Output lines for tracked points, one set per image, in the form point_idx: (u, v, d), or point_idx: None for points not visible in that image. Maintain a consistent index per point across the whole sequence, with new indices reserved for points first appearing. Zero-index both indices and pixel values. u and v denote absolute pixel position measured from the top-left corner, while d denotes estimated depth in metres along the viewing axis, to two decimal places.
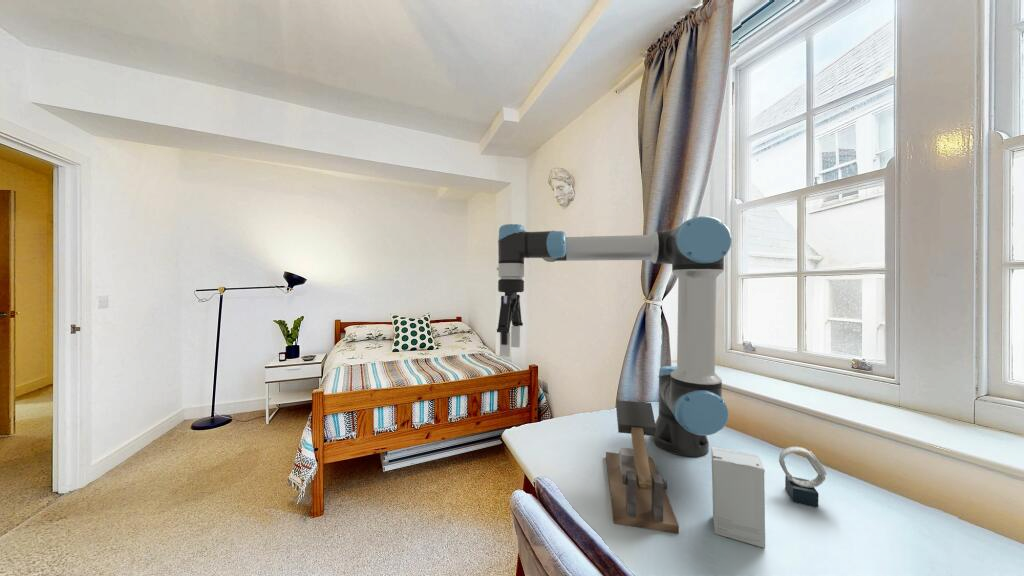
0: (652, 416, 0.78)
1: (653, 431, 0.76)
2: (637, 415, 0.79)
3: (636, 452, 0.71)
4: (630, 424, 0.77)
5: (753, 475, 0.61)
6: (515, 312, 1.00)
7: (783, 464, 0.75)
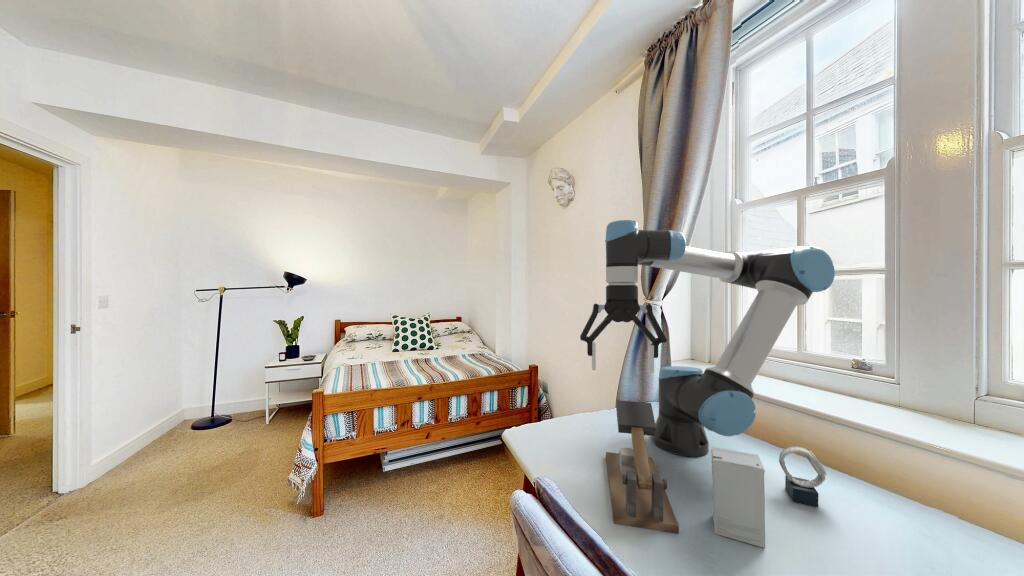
0: (652, 416, 0.78)
1: (653, 431, 0.76)
2: (637, 415, 0.79)
3: (636, 452, 0.71)
4: (630, 424, 0.77)
5: (753, 475, 0.61)
6: (637, 325, 0.81)
7: (783, 464, 0.75)
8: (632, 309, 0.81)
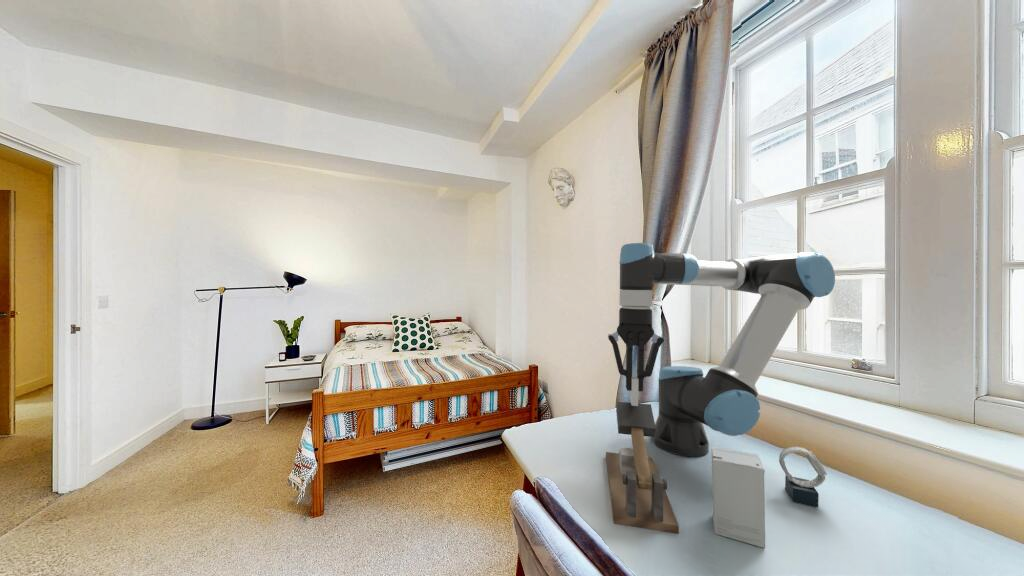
0: (652, 417, 0.78)
1: (653, 432, 0.76)
2: (637, 416, 0.79)
3: (636, 452, 0.71)
4: (630, 425, 0.77)
5: (753, 475, 0.61)
6: (638, 352, 0.80)
7: (783, 464, 0.75)
8: (645, 331, 0.79)
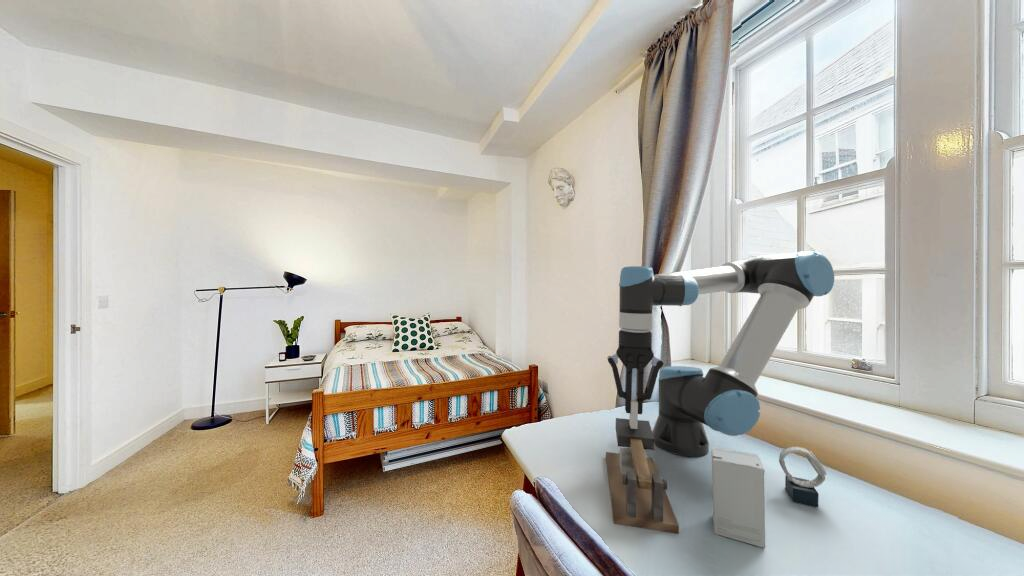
0: (650, 430, 0.80)
1: (652, 444, 0.78)
2: (635, 429, 0.81)
3: (635, 457, 0.72)
4: (629, 435, 0.79)
5: (753, 475, 0.61)
6: (637, 375, 0.80)
7: (783, 464, 0.75)
8: (645, 354, 0.79)
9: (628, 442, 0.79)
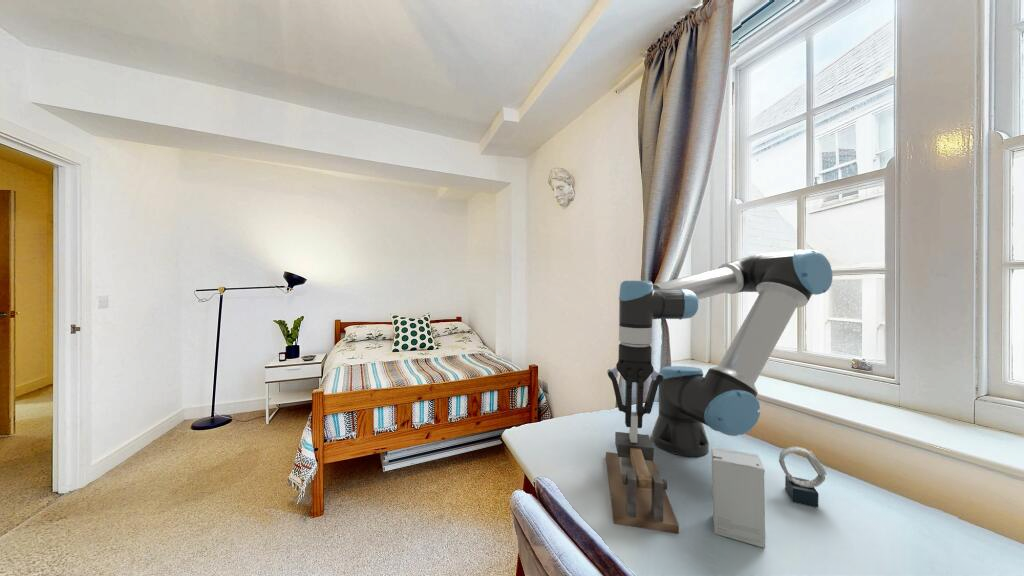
0: (649, 442, 0.81)
1: (651, 453, 0.78)
2: None
3: (635, 461, 0.73)
4: (628, 445, 0.79)
5: (753, 475, 0.61)
6: (637, 388, 0.80)
7: (783, 464, 0.75)
8: (645, 368, 0.79)
9: (628, 452, 0.79)
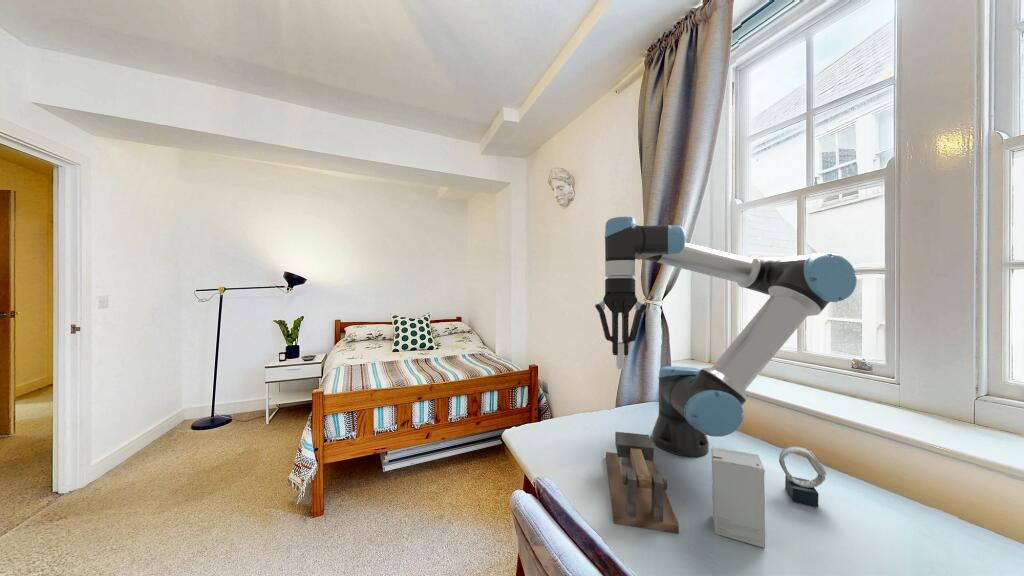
0: (649, 442, 0.81)
1: (651, 453, 0.78)
2: (635, 440, 0.81)
3: (635, 461, 0.73)
4: (628, 445, 0.79)
5: (753, 475, 0.61)
6: (623, 319, 0.86)
7: (783, 464, 0.75)
8: (629, 299, 0.85)
9: (628, 452, 0.79)
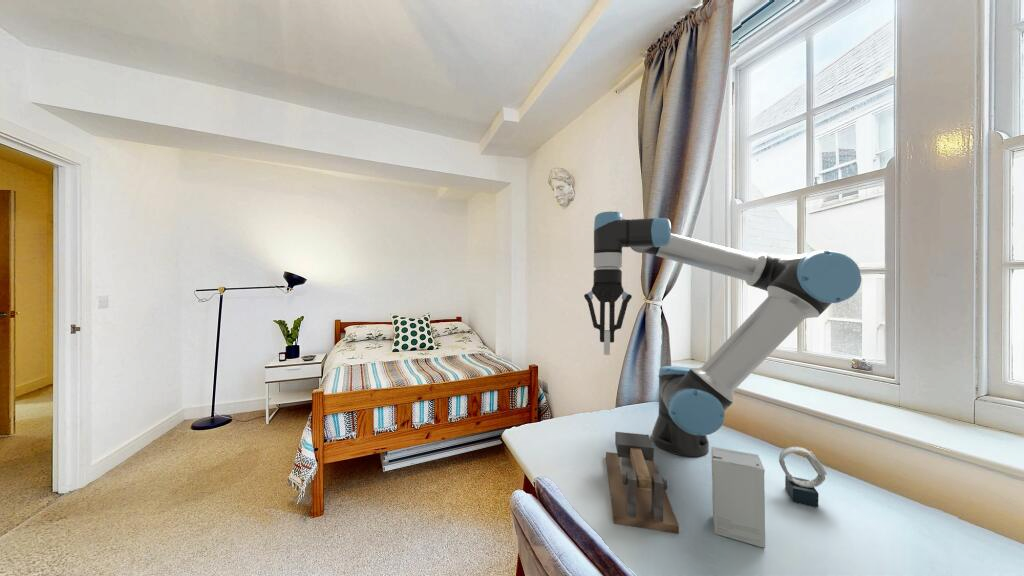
0: (649, 442, 0.81)
1: (651, 453, 0.78)
2: (635, 440, 0.81)
3: (635, 461, 0.73)
4: (628, 445, 0.79)
5: (753, 475, 0.61)
6: (609, 308, 0.91)
7: (783, 464, 0.75)
8: (616, 289, 0.91)
9: (628, 452, 0.79)
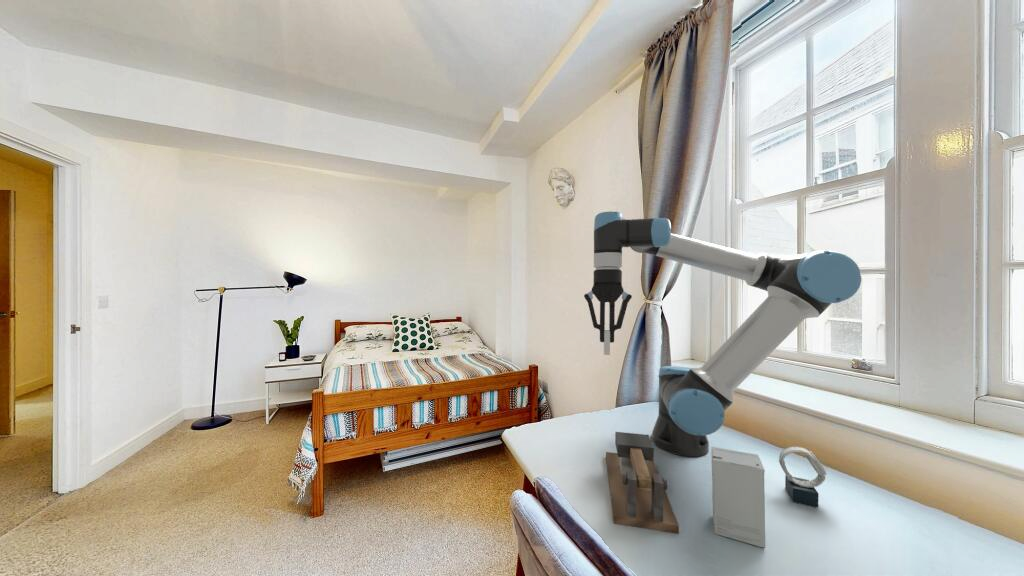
0: (649, 442, 0.81)
1: (651, 453, 0.78)
2: (635, 440, 0.81)
3: (635, 461, 0.73)
4: (628, 445, 0.79)
5: (753, 475, 0.61)
6: (609, 308, 0.91)
7: (783, 464, 0.75)
8: (616, 289, 0.91)
9: (628, 452, 0.79)
